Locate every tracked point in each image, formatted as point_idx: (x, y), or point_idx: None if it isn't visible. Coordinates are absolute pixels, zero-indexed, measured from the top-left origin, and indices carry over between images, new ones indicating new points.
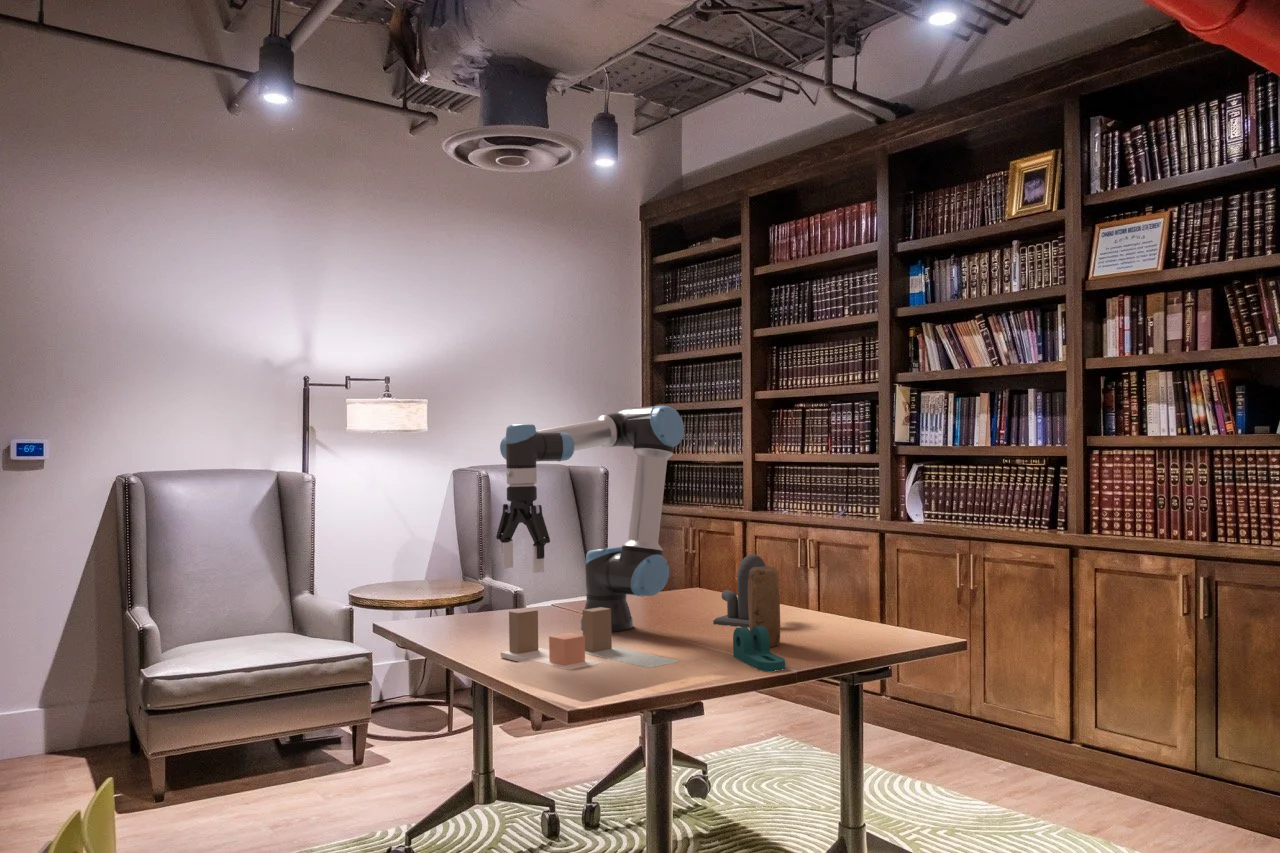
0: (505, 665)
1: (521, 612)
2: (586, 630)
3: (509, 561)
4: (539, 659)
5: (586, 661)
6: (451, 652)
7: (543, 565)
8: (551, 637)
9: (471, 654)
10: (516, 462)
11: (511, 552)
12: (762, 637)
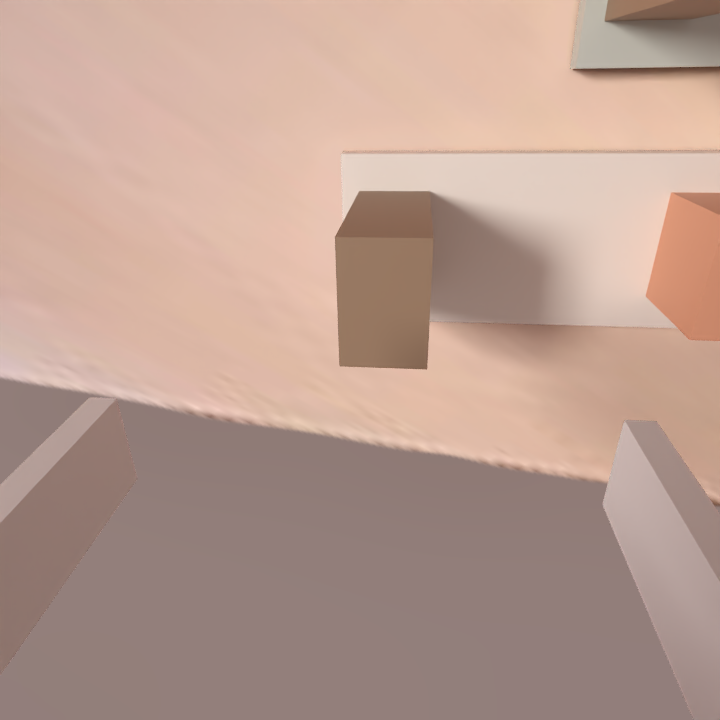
0: (467, 367)
1: (421, 344)
2: (681, 9)
3: (94, 470)
4: (579, 298)
5: None
6: (145, 370)
7: (683, 466)
8: (707, 338)
9: (220, 344)
10: None
11: (28, 516)
12: None
